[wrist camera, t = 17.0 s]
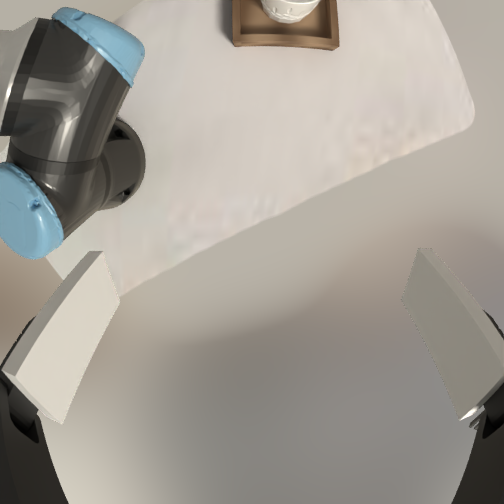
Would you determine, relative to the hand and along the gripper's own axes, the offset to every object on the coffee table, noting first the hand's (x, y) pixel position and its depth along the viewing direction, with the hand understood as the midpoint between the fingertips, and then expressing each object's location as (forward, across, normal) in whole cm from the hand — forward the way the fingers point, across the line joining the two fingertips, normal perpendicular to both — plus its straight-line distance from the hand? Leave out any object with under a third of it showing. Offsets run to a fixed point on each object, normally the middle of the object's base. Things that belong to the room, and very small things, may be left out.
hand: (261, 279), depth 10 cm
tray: (+32, +4, +23) cm, 39 cm away
